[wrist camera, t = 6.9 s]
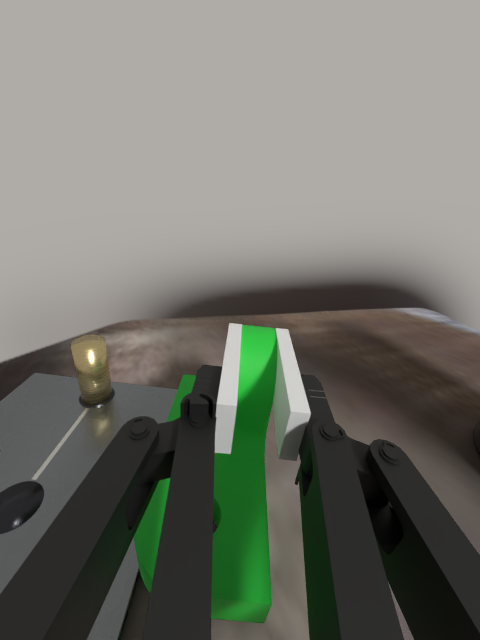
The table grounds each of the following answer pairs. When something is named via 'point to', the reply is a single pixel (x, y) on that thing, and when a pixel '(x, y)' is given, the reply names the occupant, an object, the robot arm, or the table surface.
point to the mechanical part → (231, 492)
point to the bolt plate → (66, 458)
